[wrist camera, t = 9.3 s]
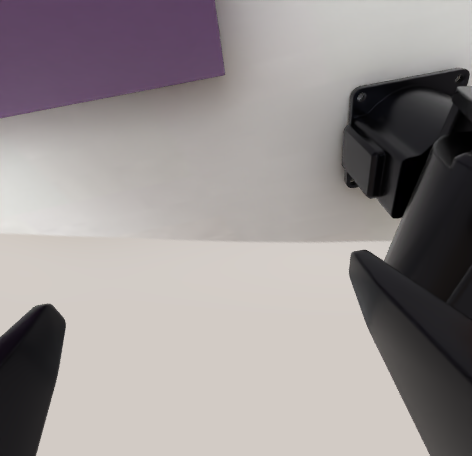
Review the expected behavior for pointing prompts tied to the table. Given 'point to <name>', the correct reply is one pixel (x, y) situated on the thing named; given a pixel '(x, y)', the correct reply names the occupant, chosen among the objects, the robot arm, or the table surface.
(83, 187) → the table surface
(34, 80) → the lid
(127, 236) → the table surface
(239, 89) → the table surface
